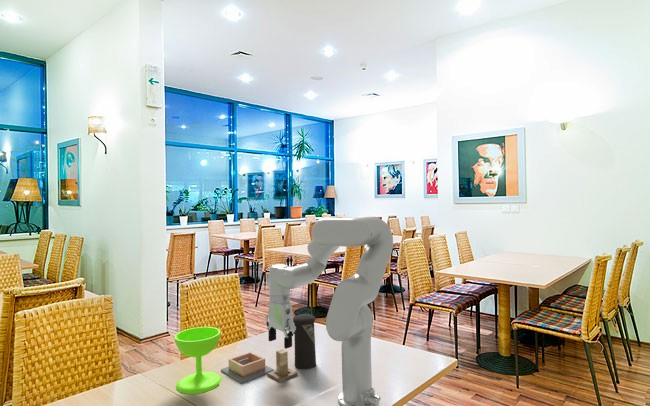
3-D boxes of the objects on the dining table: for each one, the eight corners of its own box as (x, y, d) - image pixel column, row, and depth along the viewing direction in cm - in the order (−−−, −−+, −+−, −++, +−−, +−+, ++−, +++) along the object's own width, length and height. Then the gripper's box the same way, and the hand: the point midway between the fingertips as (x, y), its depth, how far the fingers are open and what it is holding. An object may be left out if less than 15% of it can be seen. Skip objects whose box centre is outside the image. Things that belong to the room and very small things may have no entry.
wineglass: (175, 378, 151) (174, 330, 151) (219, 370, 156) (218, 324, 156) (176, 397, 136) (174, 344, 136) (224, 388, 141) (223, 337, 141)
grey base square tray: (273, 372, 153) (273, 358, 153) (241, 384, 144) (241, 370, 144) (251, 361, 164) (251, 348, 164) (220, 372, 155) (220, 358, 155)
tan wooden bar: (288, 375, 149) (287, 351, 149) (281, 378, 147) (280, 353, 147) (283, 372, 152) (282, 349, 151) (276, 375, 149) (276, 351, 149)
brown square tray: (297, 376, 149) (297, 372, 149) (280, 383, 144) (280, 379, 144) (284, 370, 155) (284, 366, 155) (267, 377, 150) (267, 373, 150)
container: (313, 371, 153) (312, 319, 153) (291, 370, 155) (289, 318, 155) (318, 362, 162) (317, 312, 162) (297, 361, 164) (295, 312, 163)
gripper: (302, 300, 146) (302, 347, 146) (274, 292, 158) (274, 335, 159) (286, 304, 140) (286, 353, 141) (258, 295, 153) (258, 340, 153)
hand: (280, 343), depth 150 cm, fingers open, 9 cm apart
